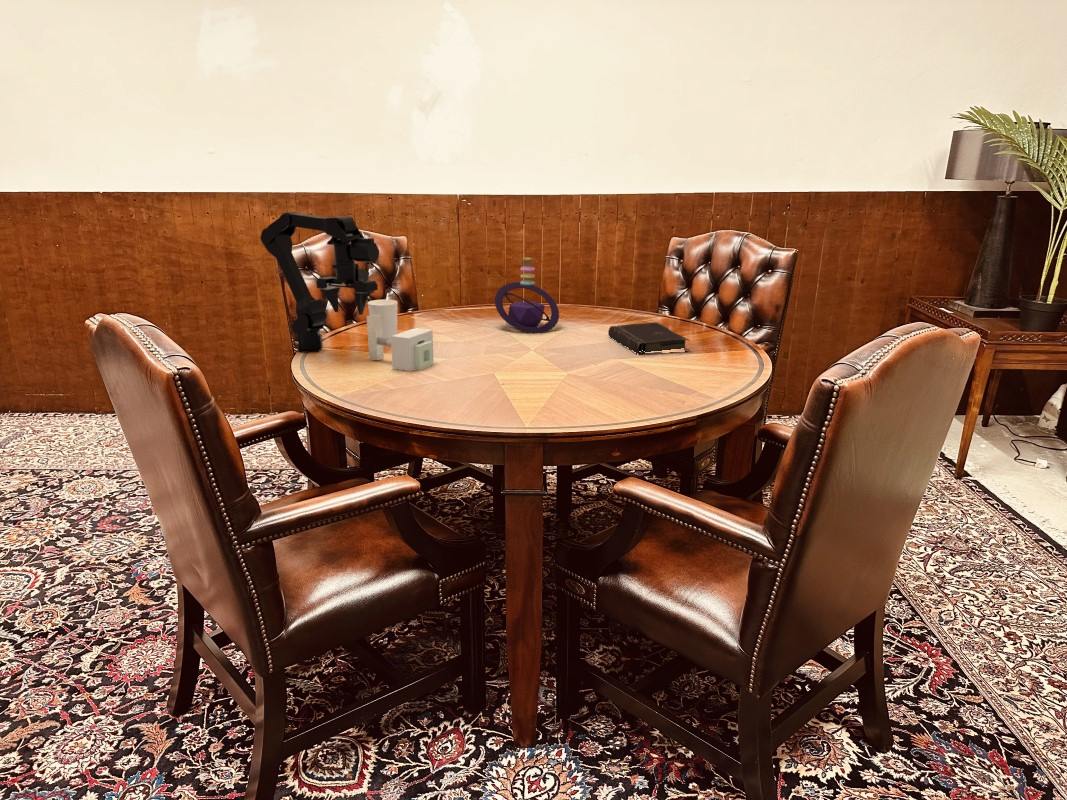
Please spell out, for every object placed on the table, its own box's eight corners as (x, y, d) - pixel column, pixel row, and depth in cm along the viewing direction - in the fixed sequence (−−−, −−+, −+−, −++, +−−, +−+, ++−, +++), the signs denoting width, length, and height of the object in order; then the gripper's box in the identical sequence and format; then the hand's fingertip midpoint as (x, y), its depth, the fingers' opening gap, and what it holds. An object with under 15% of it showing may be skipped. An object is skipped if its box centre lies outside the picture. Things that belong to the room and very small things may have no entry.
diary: (636, 357, 224) (636, 341, 222) (607, 339, 247) (608, 325, 245) (691, 353, 228) (692, 337, 227) (658, 336, 251) (658, 322, 250)
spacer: (415, 369, 205) (414, 345, 203) (429, 364, 211) (428, 340, 209) (419, 370, 205) (418, 346, 203) (433, 364, 211) (432, 341, 209)
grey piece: (369, 359, 214) (366, 316, 210) (375, 356, 217) (373, 314, 213) (411, 365, 208) (409, 321, 204) (417, 362, 211) (415, 319, 207)
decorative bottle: (503, 336, 247) (502, 262, 239) (490, 323, 266) (489, 255, 258) (565, 333, 252) (566, 260, 245) (548, 321, 272) (549, 253, 264)
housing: (392, 368, 206) (390, 336, 203) (416, 359, 216) (415, 328, 213) (410, 371, 203) (408, 338, 200) (433, 361, 214) (432, 330, 211)
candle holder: (402, 334, 248) (401, 300, 244) (394, 341, 238) (392, 305, 235) (374, 333, 248) (372, 299, 245) (365, 340, 239) (363, 304, 235)
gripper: (387, 259, 214) (390, 311, 219) (338, 256, 222) (342, 306, 227) (363, 263, 205) (367, 317, 210) (313, 259, 213) (317, 312, 217)
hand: (348, 313), depth 216 cm, fingers open, 9 cm apart
